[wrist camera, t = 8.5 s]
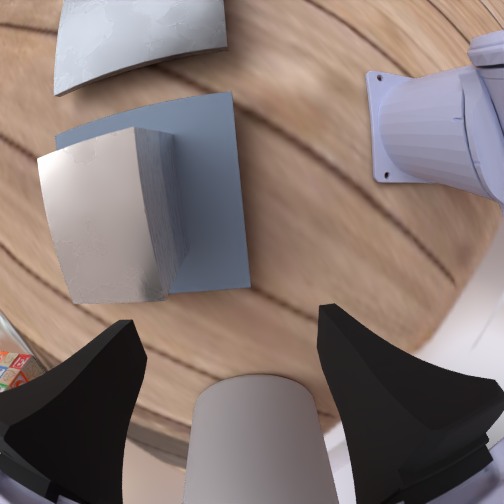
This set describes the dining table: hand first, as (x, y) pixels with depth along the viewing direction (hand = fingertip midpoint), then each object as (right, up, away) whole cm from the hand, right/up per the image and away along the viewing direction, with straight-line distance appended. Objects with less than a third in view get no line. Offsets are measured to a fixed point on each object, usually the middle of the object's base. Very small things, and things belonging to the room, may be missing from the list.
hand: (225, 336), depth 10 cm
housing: (-6, +6, +5) cm, 10 cm away
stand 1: (-7, +21, +2) cm, 22 cm away
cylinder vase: (+1, -13, +16) cm, 20 cm away
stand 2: (-6, +7, +7) cm, 11 cm away
